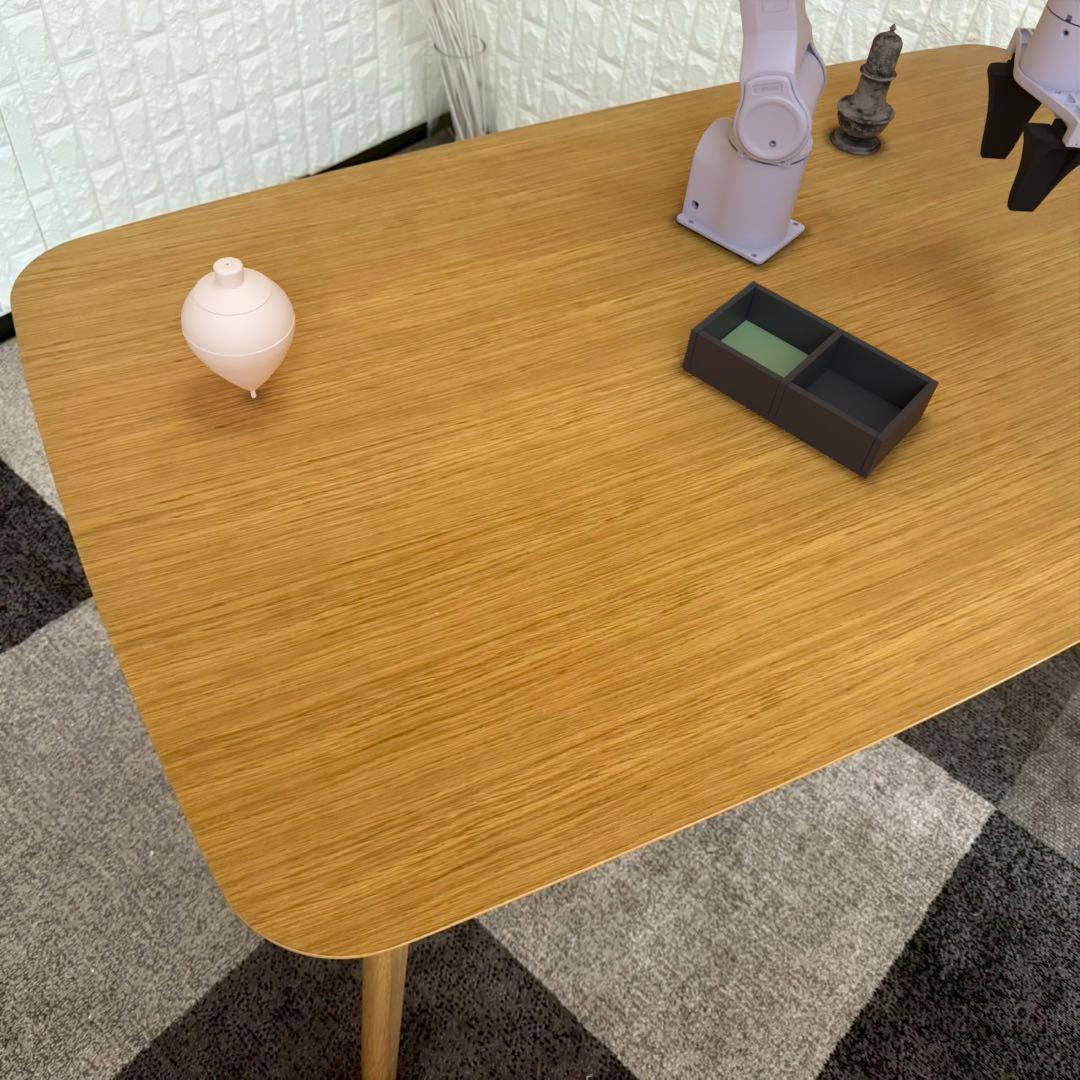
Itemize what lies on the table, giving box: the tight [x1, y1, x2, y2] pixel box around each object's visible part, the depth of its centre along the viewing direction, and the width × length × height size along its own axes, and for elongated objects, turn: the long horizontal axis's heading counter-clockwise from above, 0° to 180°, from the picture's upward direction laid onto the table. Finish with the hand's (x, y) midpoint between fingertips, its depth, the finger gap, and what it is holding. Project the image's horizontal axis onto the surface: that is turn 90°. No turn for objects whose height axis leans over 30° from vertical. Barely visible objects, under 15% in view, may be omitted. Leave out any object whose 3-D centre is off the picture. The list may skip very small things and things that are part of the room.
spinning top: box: [180, 256, 296, 399], centre depth 72 cm, size 8×8×12 cm
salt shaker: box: [829, 23, 904, 156], centre depth 101 cm, size 6×6×12 cm
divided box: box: [682, 280, 940, 479], centre depth 79 cm, size 17×9×4 cm, turn 49°
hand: (1005, 182), depth 84 cm, fingers open, 7 cm apart
